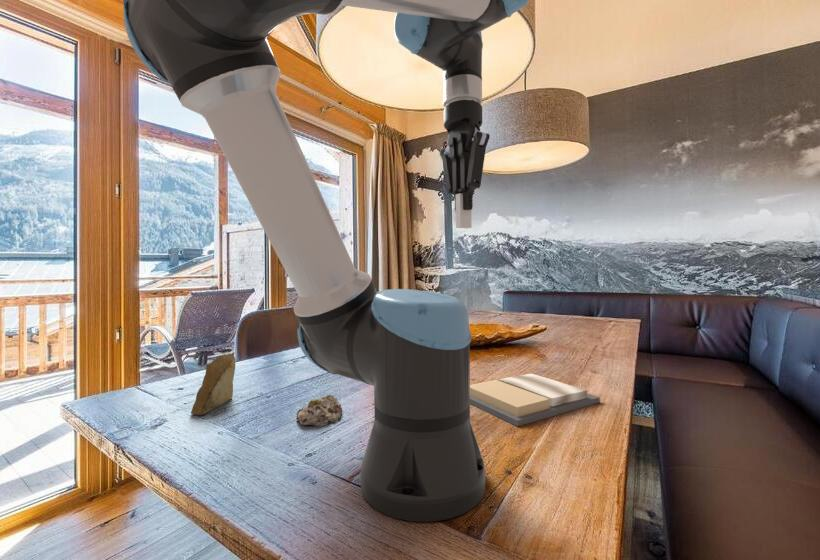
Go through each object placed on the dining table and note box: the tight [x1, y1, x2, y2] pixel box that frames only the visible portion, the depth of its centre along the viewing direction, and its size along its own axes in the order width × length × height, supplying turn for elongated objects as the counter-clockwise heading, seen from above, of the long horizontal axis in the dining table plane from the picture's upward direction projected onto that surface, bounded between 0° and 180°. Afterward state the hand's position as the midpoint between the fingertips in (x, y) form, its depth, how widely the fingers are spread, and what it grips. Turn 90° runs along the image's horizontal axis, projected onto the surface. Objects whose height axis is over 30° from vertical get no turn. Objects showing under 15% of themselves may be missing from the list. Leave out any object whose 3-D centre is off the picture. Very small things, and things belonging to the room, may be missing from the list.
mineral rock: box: [295, 394, 343, 427], centre depth 68 cm, size 11×4×8 cm
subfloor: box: [470, 379, 601, 427], centre depth 74 cm, size 22×16×3 cm
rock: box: [190, 353, 236, 416], centre depth 73 cm, size 11×9×10 cm
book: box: [497, 372, 588, 407], centre depth 76 cm, size 10×14×2 cm
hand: (463, 227), depth 73 cm, fingers closed
